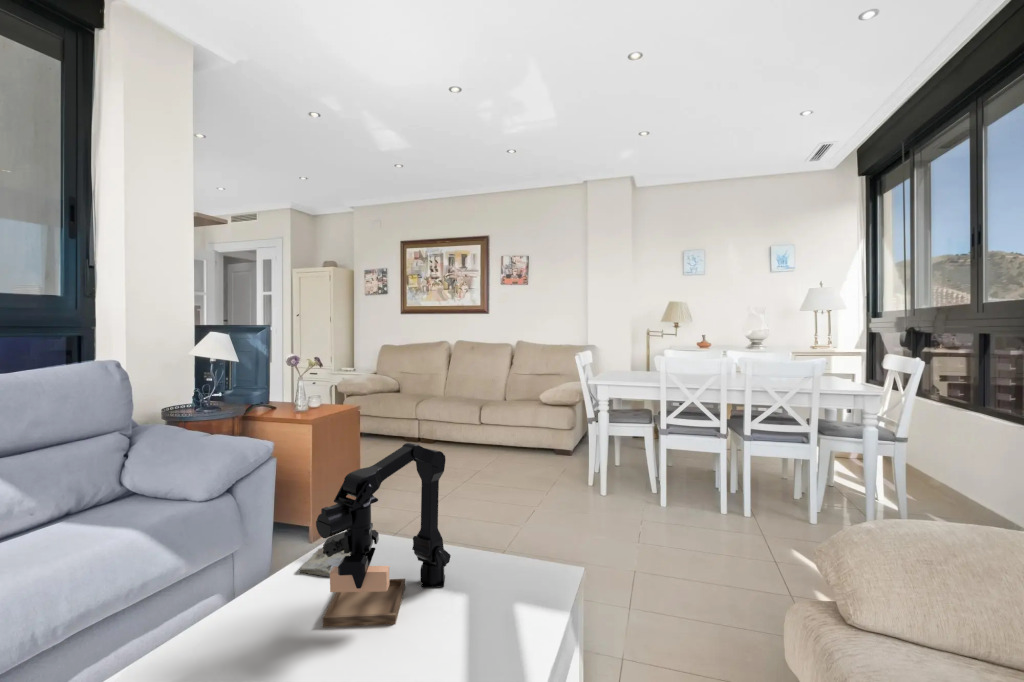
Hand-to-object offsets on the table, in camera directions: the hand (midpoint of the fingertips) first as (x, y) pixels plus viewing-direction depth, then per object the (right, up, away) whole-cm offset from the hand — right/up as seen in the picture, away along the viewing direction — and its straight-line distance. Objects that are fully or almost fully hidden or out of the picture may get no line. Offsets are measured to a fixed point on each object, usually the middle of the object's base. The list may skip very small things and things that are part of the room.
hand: (360, 584), depth 123 cm
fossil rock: (-20, -10, +33) cm, 40 cm away
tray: (-1, -10, +9) cm, 14 cm away
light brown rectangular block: (0, -1, 0) cm, 1 cm away
